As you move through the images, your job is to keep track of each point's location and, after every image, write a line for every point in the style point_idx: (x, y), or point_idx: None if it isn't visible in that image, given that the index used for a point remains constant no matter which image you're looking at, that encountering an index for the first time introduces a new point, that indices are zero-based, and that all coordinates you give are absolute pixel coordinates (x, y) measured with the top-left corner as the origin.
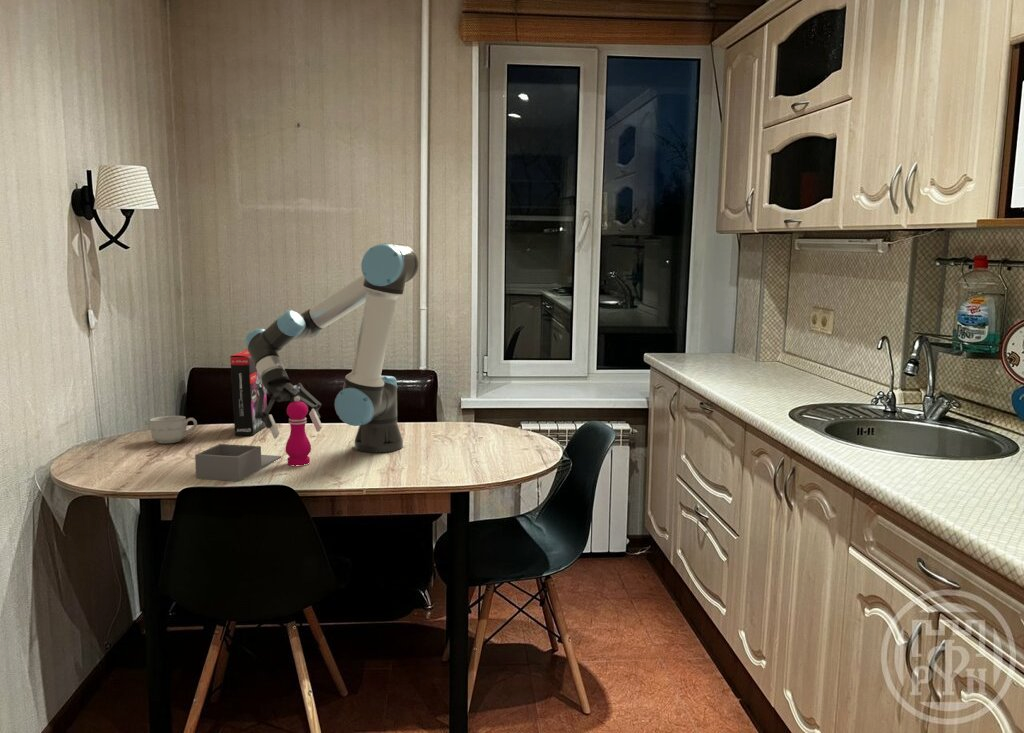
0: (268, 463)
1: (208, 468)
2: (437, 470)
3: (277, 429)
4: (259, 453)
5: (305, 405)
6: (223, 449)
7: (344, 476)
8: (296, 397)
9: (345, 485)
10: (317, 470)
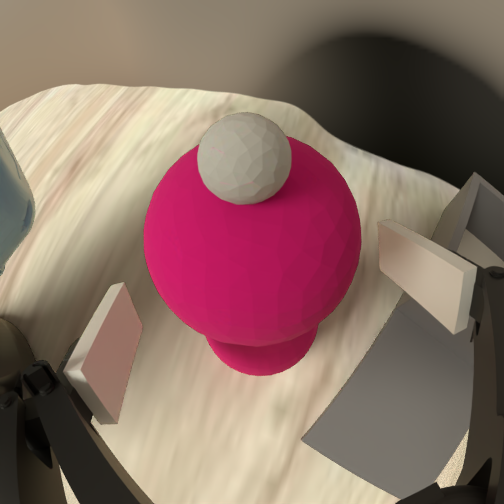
0: (368, 351)
1: None
2: (33, 144)
3: (392, 229)
4: None
5: (176, 162)
6: None
7: (186, 148)
8: (258, 115)
9: (214, 99)
10: None
